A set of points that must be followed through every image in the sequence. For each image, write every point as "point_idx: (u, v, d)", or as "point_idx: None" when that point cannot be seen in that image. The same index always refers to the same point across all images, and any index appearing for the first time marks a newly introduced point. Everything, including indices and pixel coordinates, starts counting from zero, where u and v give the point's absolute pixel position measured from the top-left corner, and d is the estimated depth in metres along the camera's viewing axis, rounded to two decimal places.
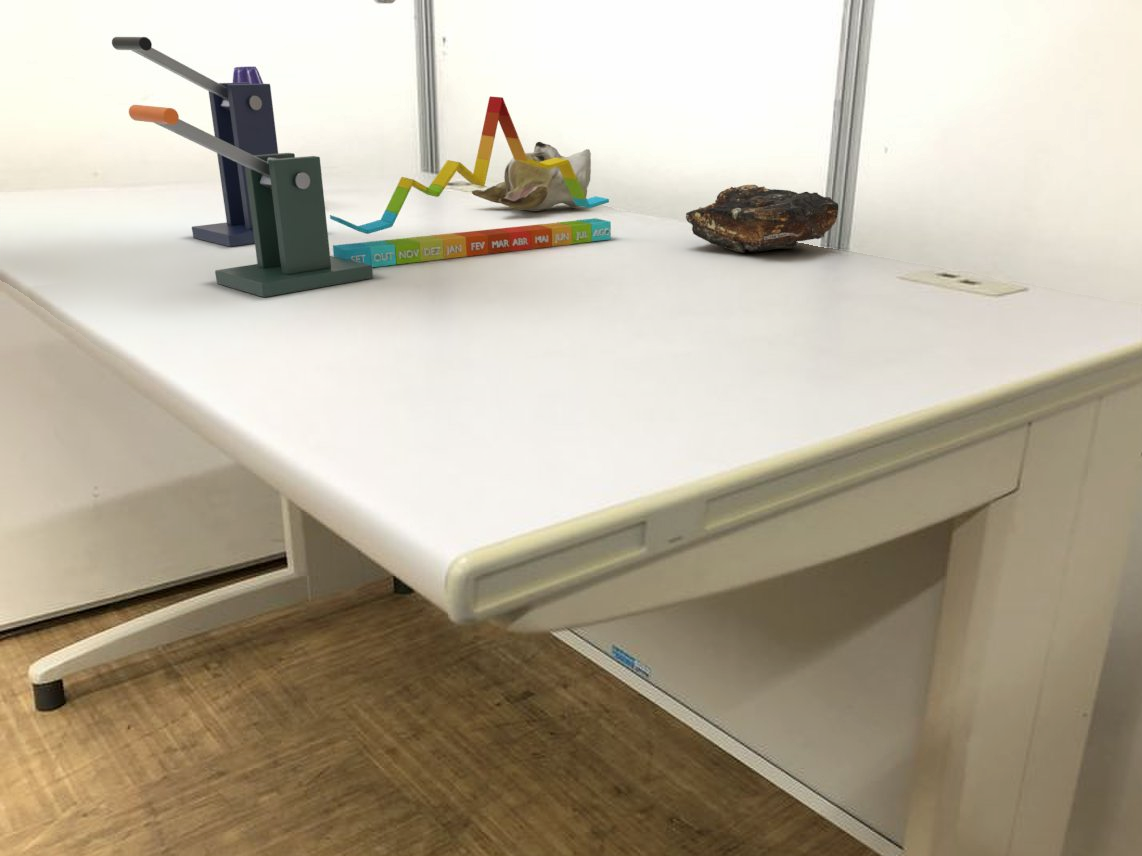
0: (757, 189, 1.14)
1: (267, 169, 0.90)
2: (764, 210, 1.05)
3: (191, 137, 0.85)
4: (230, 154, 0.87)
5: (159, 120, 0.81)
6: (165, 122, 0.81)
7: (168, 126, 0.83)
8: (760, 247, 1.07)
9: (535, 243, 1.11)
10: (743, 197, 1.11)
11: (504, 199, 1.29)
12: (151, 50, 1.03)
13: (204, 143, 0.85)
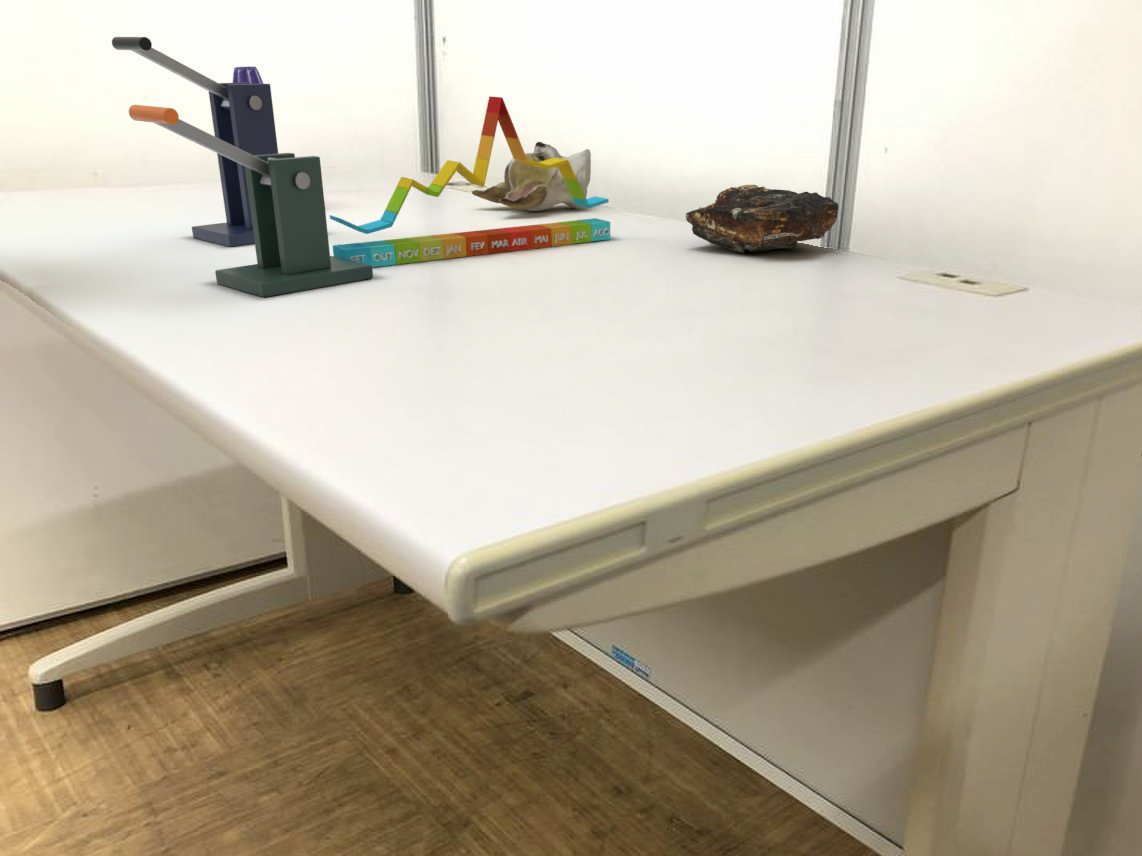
0: (757, 189, 1.14)
1: (267, 169, 0.90)
2: (764, 210, 1.05)
3: (191, 137, 0.85)
4: (230, 154, 0.87)
5: (159, 120, 0.81)
6: (165, 122, 0.81)
7: (168, 126, 0.83)
8: (760, 247, 1.07)
9: (535, 243, 1.11)
10: (743, 197, 1.11)
11: (504, 199, 1.29)
12: (151, 50, 1.03)
13: (204, 143, 0.85)
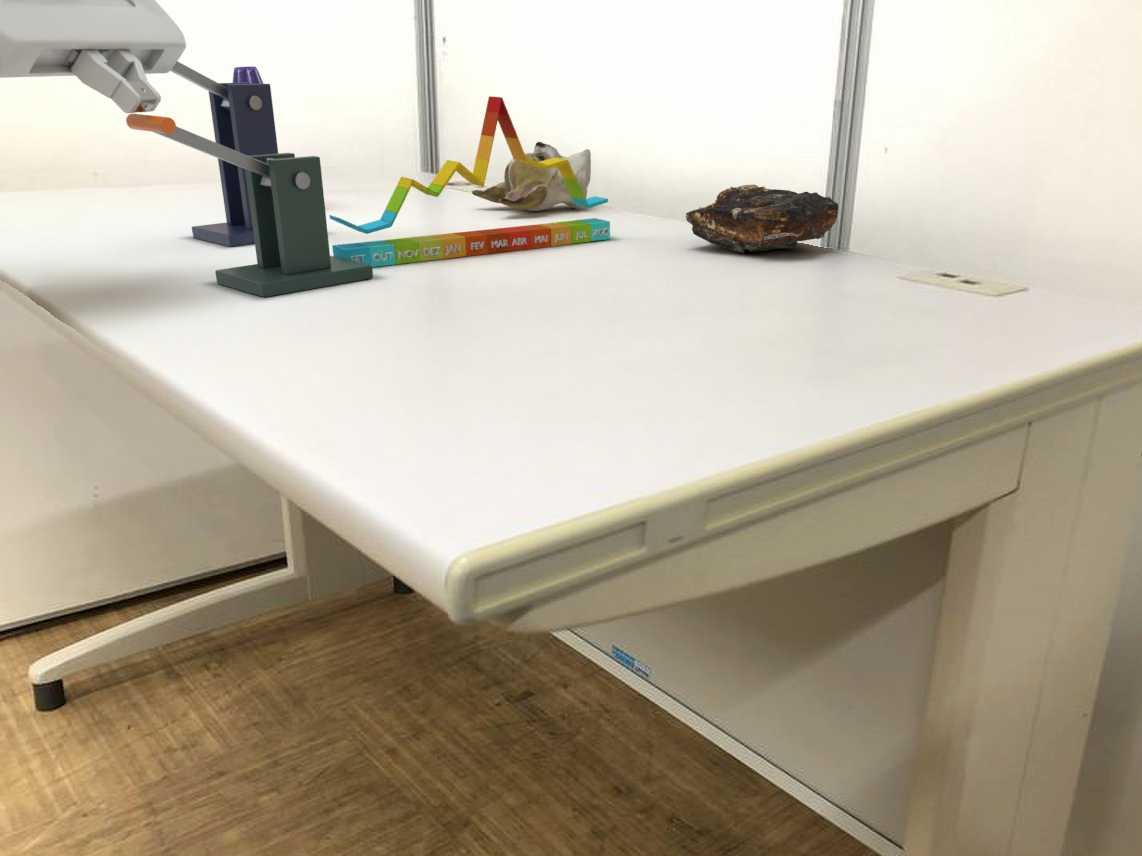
0: (757, 189, 1.14)
1: (267, 170, 0.90)
2: (764, 210, 1.05)
3: (189, 144, 0.85)
4: (229, 158, 0.87)
5: (157, 129, 0.81)
6: (163, 131, 0.81)
7: (166, 134, 0.83)
8: (760, 247, 1.07)
9: (534, 243, 1.11)
10: (743, 197, 1.11)
11: (504, 199, 1.29)
12: None
13: (203, 149, 0.86)
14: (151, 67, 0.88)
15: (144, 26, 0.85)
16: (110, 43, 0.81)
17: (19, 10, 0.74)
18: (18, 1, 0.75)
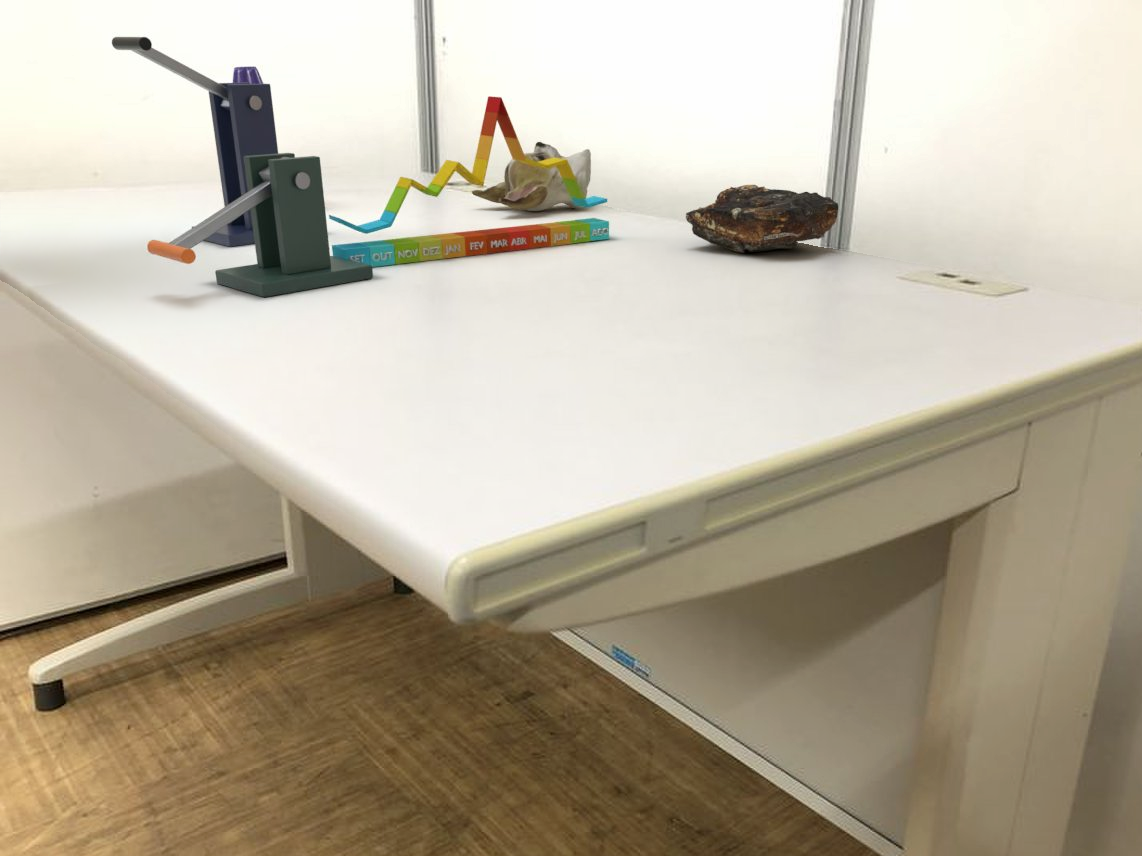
0: (757, 189, 1.14)
1: (270, 190, 0.91)
2: (764, 210, 1.05)
3: (207, 236, 0.88)
4: (239, 213, 0.89)
5: None
6: None
7: (188, 249, 0.87)
8: (760, 247, 1.07)
9: (534, 243, 1.11)
10: (743, 197, 1.11)
11: (504, 199, 1.29)
12: (151, 50, 1.03)
13: (218, 229, 0.88)
14: None
15: None
16: None
17: None
18: None
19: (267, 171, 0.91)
